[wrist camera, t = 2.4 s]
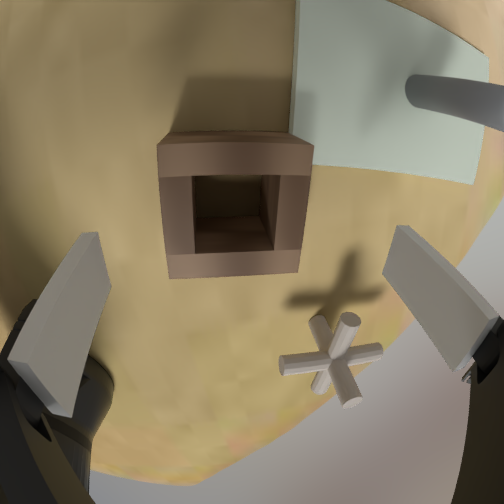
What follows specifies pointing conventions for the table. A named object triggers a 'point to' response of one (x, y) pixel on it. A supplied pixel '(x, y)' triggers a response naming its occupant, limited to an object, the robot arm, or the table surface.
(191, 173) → the collar
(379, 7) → the post stand
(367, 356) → the pipe connector
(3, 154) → the table surface
